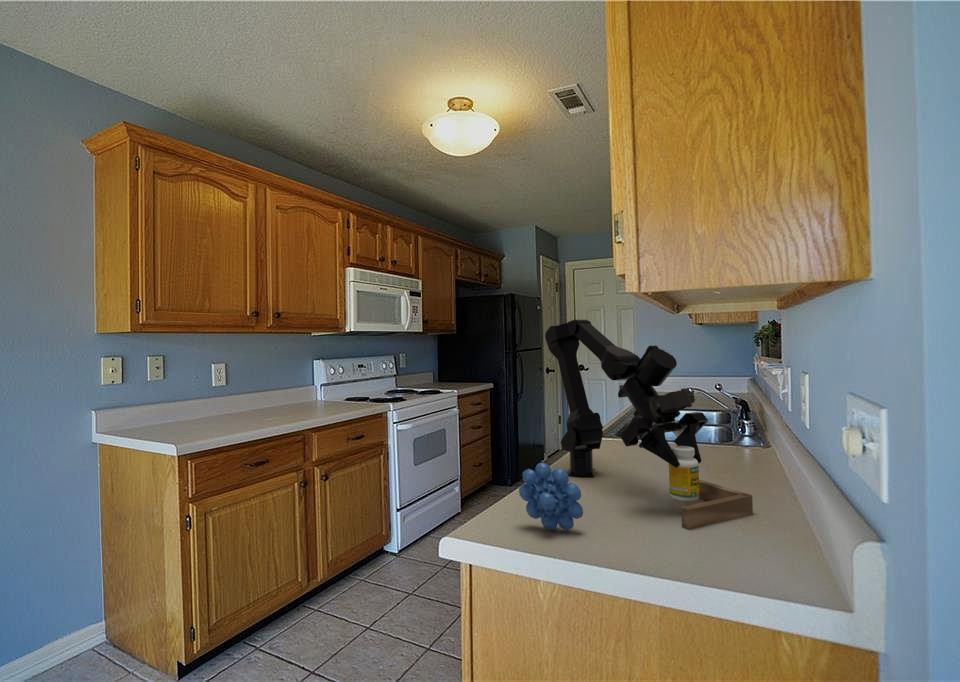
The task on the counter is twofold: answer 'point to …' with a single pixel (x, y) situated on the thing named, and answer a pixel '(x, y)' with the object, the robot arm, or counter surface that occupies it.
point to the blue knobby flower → (551, 497)
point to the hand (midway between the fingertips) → (689, 464)
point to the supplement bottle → (684, 475)
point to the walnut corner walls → (716, 506)
